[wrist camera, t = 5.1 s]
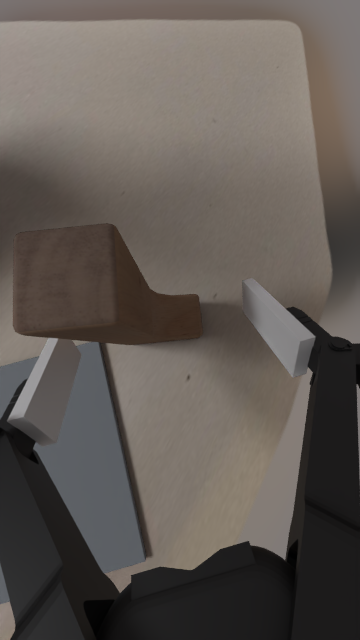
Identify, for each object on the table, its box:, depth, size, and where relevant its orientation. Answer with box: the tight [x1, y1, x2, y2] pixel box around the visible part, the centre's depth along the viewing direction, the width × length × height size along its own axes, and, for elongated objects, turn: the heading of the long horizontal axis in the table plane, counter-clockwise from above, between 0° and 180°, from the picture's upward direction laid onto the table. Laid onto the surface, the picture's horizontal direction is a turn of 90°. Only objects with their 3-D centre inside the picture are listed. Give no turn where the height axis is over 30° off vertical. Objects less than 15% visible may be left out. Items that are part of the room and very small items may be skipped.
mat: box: [0, 342, 146, 604], centre depth 24 cm, size 24×16×1 cm, turn 15°
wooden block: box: [13, 223, 203, 345], centre depth 17 cm, size 9×4×18 cm, turn 96°
